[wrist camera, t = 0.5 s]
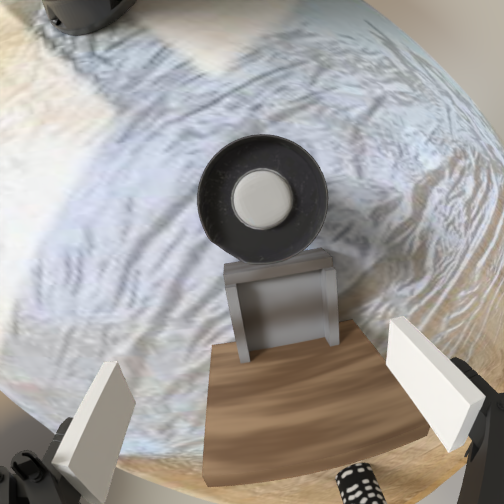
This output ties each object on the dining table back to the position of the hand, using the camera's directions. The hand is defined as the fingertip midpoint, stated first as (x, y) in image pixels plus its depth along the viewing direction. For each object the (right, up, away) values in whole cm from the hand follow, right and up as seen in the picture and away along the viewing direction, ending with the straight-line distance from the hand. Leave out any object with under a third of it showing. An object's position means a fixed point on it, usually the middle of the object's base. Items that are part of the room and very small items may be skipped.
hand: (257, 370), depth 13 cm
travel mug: (-1, +13, +23) cm, 26 cm away
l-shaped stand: (+3, -1, +27) cm, 27 cm away
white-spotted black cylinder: (+22, -44, +39) cm, 63 cm away
